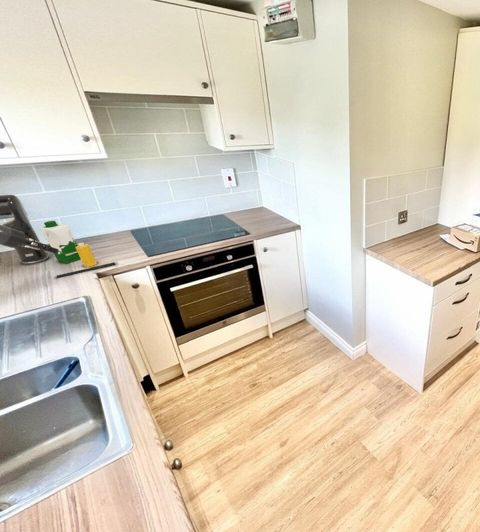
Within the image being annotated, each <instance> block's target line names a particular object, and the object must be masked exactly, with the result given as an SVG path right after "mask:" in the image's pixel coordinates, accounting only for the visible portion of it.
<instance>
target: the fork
mask: <svg viewBox="0 0 480 532" xmlns="http://www.w3.org/2000/svg"><path fill="white" fill-rule="evenodd" d="M113 266H116V263H115V261H114V262H109V263H105V264H100V265H94V266H90V267H87V268H84V269H80V270H75V271H70V272H66V273H62V274H57V275H56V278H58V279H59V278H64V277H69V276H72V275H76V274H81V273H85V272H90V271H96V270H99V269H103V268H108V267H113Z"/></svg>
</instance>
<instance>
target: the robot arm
mask: <svg viewBox="0 0 480 532" xmlns="http://www.w3.org/2000/svg"><path fill="white" fill-rule="evenodd" d="M4 216H13V219H10V220H9V221H6V222H4V223H2V224H0V246H4V247H6V248H10V249H14V251H15V253H16V254H17V256H18V258H19V260H20V262H21V264H23V265H31V264H37V263H40V262H41V263H42V262H44V261H46V260H48V259H49V255H48V254H47V252H48V253H52V254H54V253H57V252H58V250H59V249H56V248H53V247H50V245H49V244H45V243H43V242H41V241H40V238H39V237H38V235H37V232H36V231H35V229H34V227H33V226H32V224H31V220H30V219H29V217H28V216H29V215H27V211H26V210H25V207H24V206H23V203H22V202H21V200H20V199H19V197H18V196H17V195H15V194H1V195H0V217H4Z"/></svg>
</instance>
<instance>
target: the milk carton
mask: <svg viewBox="0 0 480 532" xmlns="http://www.w3.org/2000/svg"><path fill="white" fill-rule="evenodd" d="M43 225H44V226H43V227H39V230H40V231H41V233H42V234H43V236H44V238H45V239H46V242H47V243H48V245H49V246H50V247H53V248H56V249H59V250H58V252H57V253H53V255H54V257H55V258H56V260H57V262H60V263H63V264H64V263H65V264H70V263H73V262H76V261H80V260H81V258H80V256H79V254H78V252H77V250H76V248H75V247H77V246H78V243H77V242H76V239H75V237H74V235H73V234H72V233H73V232H72V231H71V228H70V225H68V224H65V223H57V221H56V220H48V221H45V222H43Z"/></svg>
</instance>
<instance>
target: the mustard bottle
mask: <svg viewBox="0 0 480 532" xmlns="http://www.w3.org/2000/svg"><path fill="white" fill-rule="evenodd" d="M75 248H76V250H77V252H78V254H79V256H80V258H81V259H80V260H81V262H82V265H83V266H84V267H85V268H91V267H95V266H97V265H98V262H97V260H96V257H95V256H94V253H93V251H92V249H91V248H90V245H89V244H87V243H84V242H79V243H77V247H75Z"/></svg>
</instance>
